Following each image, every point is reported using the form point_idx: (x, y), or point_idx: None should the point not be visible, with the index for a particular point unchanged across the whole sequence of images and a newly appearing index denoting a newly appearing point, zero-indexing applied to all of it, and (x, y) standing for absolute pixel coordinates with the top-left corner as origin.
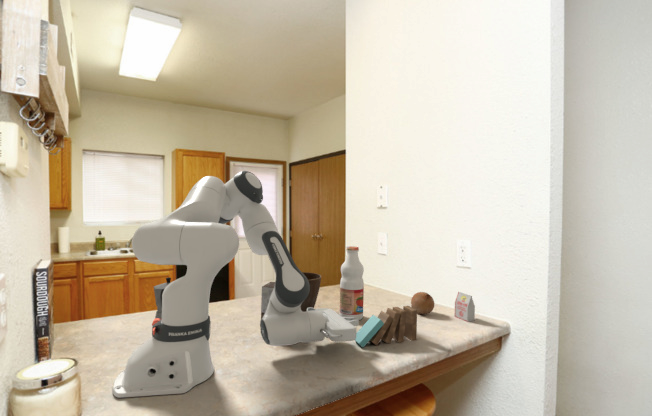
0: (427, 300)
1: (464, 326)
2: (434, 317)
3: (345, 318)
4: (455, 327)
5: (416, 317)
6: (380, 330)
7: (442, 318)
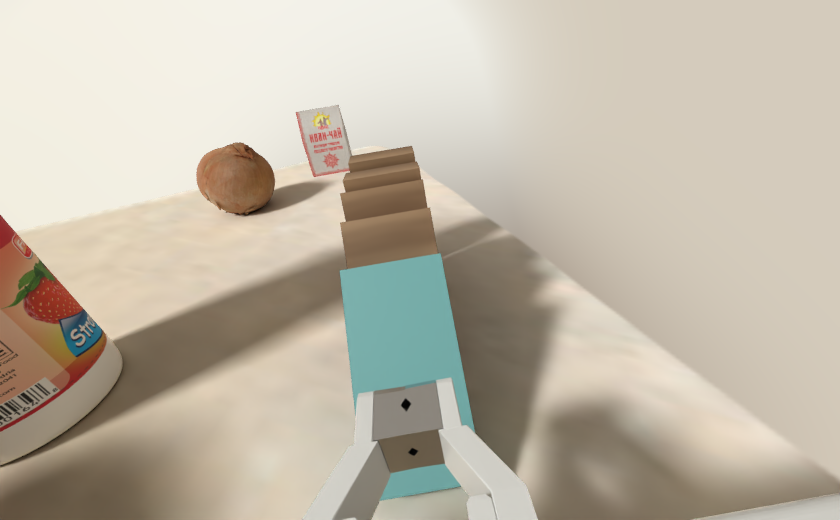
0: (258, 160)
1: None
2: (293, 198)
3: (343, 512)
4: None
5: None
6: None
7: (309, 190)
